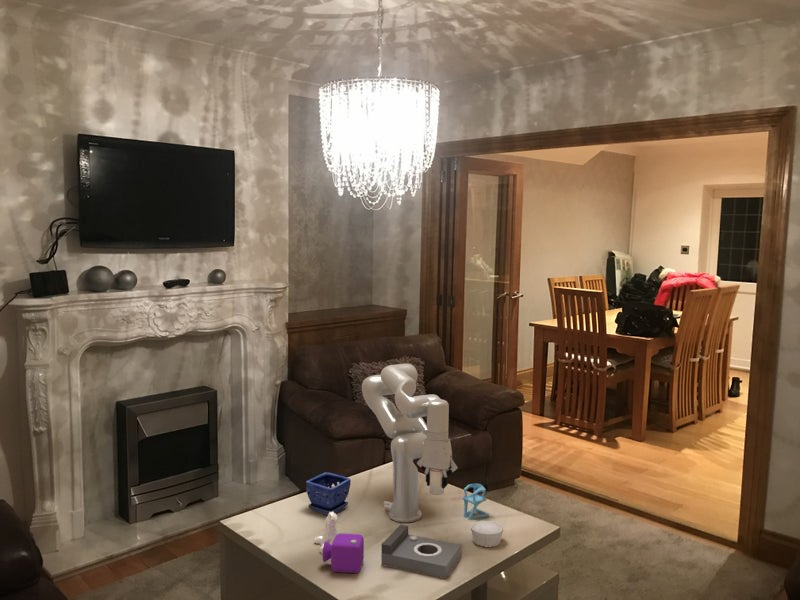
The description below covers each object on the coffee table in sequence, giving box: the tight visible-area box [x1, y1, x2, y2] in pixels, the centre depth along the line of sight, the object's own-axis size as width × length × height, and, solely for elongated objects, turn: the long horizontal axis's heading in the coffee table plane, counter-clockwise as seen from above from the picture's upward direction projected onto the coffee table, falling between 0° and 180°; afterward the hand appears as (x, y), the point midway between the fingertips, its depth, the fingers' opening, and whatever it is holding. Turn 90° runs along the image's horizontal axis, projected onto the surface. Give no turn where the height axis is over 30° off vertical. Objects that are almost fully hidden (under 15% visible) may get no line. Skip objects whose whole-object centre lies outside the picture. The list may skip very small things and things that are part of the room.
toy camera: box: [320, 532, 365, 574], centre depth 209 cm, size 11×14×10 cm
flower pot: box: [305, 472, 352, 516], centre depth 254 cm, size 13×13×12 cm
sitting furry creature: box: [314, 512, 340, 553], centre depth 223 cm, size 10×9×12 cm
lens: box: [429, 468, 445, 496], centre depth 228 cm, size 5×5×9 cm
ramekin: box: [470, 520, 504, 548], centre depth 228 cm, size 11×11×5 cm
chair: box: [462, 483, 490, 520], centre depth 249 cm, size 8×8×12 cm
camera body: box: [380, 524, 462, 580], centre depth 214 cm, size 22×16×7 cm
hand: (436, 485), depth 228 cm, fingers closed on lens, 5 cm apart
